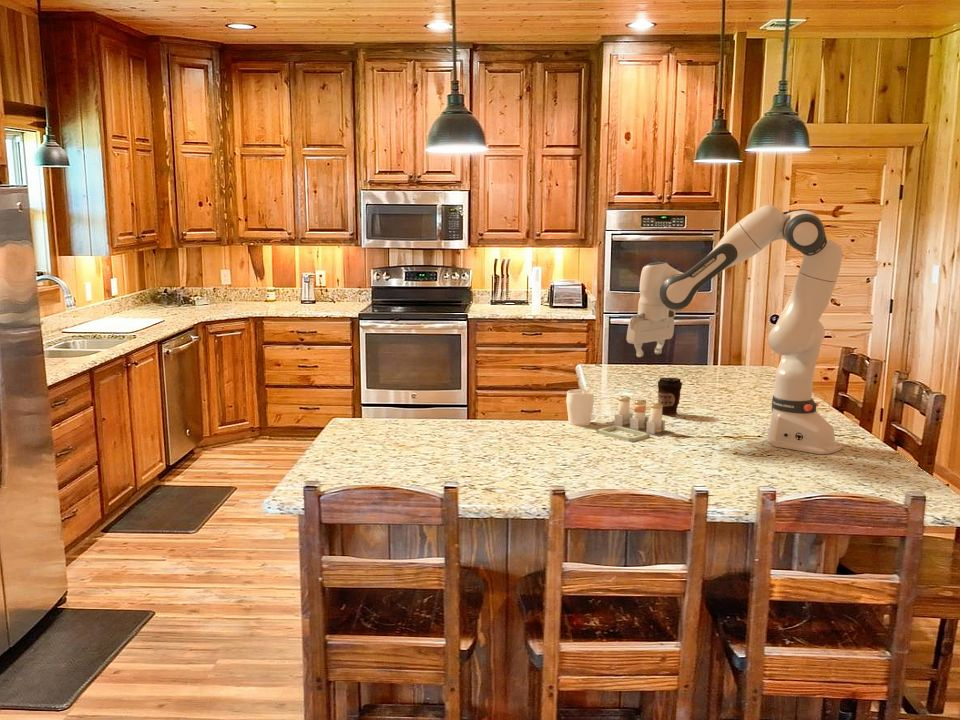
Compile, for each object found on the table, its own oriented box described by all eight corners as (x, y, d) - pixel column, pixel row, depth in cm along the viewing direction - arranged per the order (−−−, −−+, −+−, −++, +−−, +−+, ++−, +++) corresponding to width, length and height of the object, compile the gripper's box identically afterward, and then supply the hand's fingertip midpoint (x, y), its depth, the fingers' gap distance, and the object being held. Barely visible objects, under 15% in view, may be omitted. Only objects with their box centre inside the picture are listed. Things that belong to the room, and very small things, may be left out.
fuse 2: (663, 431, 275) (665, 404, 273) (656, 433, 273) (657, 406, 271) (654, 429, 278) (655, 402, 276) (647, 431, 275) (648, 404, 274)
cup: (561, 428, 284) (562, 393, 282) (571, 422, 292) (572, 388, 290) (587, 432, 280) (588, 396, 278) (596, 425, 288) (597, 390, 286)
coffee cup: (673, 418, 298) (675, 382, 296) (651, 415, 303) (653, 379, 301) (684, 414, 305) (686, 378, 302) (662, 410, 310) (664, 375, 307)
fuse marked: (647, 427, 280) (648, 400, 278) (640, 429, 277) (641, 402, 276) (638, 425, 282) (639, 398, 281) (631, 427, 280) (632, 400, 278)
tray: (649, 441, 269) (649, 433, 269) (631, 446, 263) (631, 438, 263) (614, 432, 280) (614, 425, 279) (596, 437, 274) (596, 429, 273)
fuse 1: (631, 424, 284) (632, 397, 283) (624, 425, 282) (625, 399, 280) (622, 421, 287) (623, 395, 286) (615, 423, 285) (616, 397, 283)
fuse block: (674, 436, 275) (675, 421, 274) (659, 441, 269) (659, 425, 269) (620, 423, 291) (620, 409, 290) (604, 427, 286) (605, 413, 285)
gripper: (639, 316, 265) (636, 360, 268) (678, 311, 279) (675, 353, 282) (623, 313, 270) (620, 356, 273) (662, 309, 283) (659, 350, 286)
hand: (648, 355), depth 277 cm, fingers open, 8 cm apart
